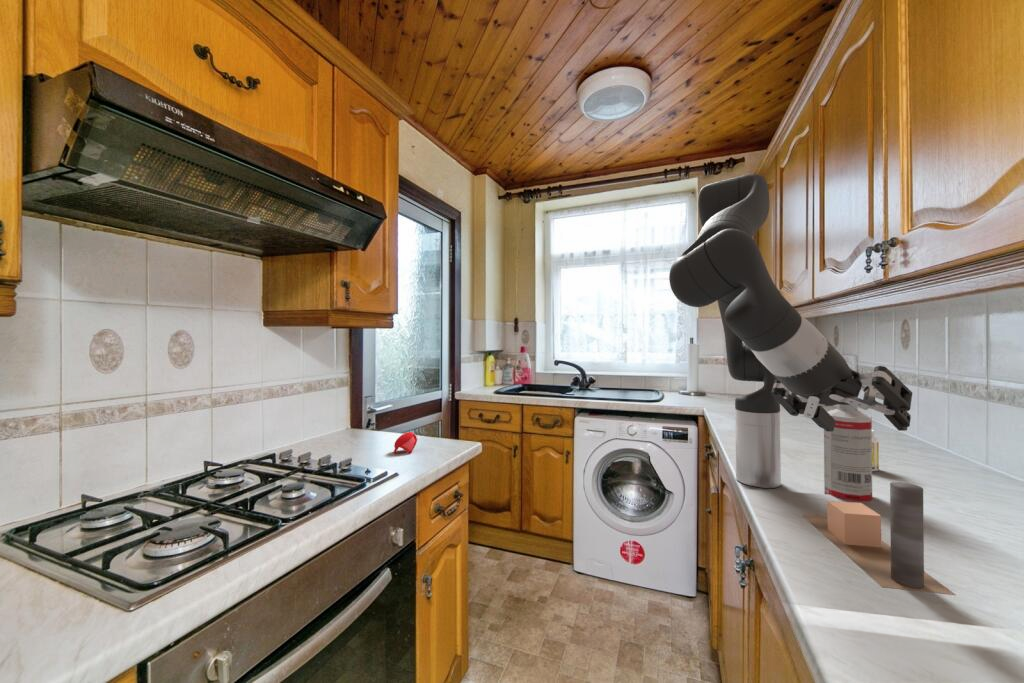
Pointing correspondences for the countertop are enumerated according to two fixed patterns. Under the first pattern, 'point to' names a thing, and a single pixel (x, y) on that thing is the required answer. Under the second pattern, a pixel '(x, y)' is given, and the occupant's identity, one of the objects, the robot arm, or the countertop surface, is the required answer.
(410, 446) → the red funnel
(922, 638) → the countertop surface
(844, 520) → the terracotta block
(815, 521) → the pull strip
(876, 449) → the supplement bottle
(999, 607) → the countertop surface
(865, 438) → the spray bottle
